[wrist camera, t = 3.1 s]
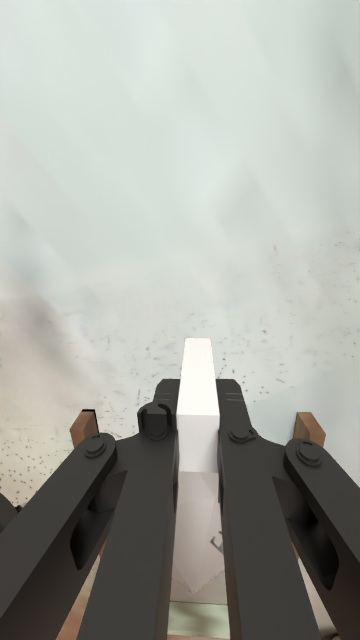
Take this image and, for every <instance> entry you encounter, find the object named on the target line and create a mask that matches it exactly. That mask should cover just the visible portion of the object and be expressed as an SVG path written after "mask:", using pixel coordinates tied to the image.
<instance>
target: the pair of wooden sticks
mask: <svg viewBox="0 0 360 640" xmlns="http://www.w3.org/2000/svg"><path fill="white" fill-rule="evenodd" d="M70 433H71V437H72V441H73V446H74V449H75V448H76V446H77V445H78V444H79V443H80V442H81V441H82V440H84V439H85V438H86V437H88V436H90V435H92V434H96V433H99V429H98V424H97V418H96V413H95V409H83V410H82V411H81V413H80V414H79V416H78V417H77V419H76V420H75V422H74V423H73V425H72V426H71V428H70ZM325 436H326V434H325V432H324V431H323V429H322V428H321V426H320V425H319V424H318V422H317V421H316V419H315V418H314V416H313V415H312V413H311V412H297V418H296V424H295V430H294V436H293V439H295V438H299V439H306V440H310V441H313V442H314V443H316V444H318V445H320V446H321V447H322V448H323V445H324V440H325ZM106 540H107V539H106ZM105 544H106V541H105V542H104V544H103V546H102V548H101V550H100V552H99V556H100V560H101V557H102V554H103V550H104V547H105ZM292 545H293V543H292ZM293 548H294V551H295V554H296V558H297V561H298V558H299V555H298V553H297V551H296V549H295V547H294V545H293ZM167 634H172V635H185V636H198V637H211V638H224V639H230V629H229V617H228V605H215V604H201V603H186V602H171V601H170V605H169V618H168V632H167Z"/></svg>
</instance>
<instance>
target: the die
mask: <svg viewBox="0 0 360 640" xmlns="http://www.w3.org/2000/svg"><path fill="white" fill-rule="evenodd" d="M218 483H219V475H218V473H207V472H186V471H179V472H178V485H179V487H178V500H177V513H176V526H175V540H174V553H173V566H172V578H173V579H175V580H176V581H177V582H179V583H180V584H181V585H182V586H184V587H185V588H186V589H188V590H189V591H190V592H191V593H193V594H195V593H196V592H197V591H198V590H200V589H201V588H202V587H203V586H205V585H206V584H207V583H208V582H209V581H211V580H212V579H213V578H214V577H216V576H217V575H218V574H219V573H220V572H222V571H223V570H224V569H225V566H224V553H223V541H222V528H221V515H220V503H218Z"/></svg>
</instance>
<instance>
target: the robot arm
mask: <svg viewBox="0 0 360 640" xmlns="http://www.w3.org/2000/svg"><path fill="white" fill-rule="evenodd" d="M137 417H138V426H139V433H138V434H136V435H134V436H132V437H129V438H125V439H121V440H117V441H115V439H114V437H113V436H112V435H110V434H108V433H96V434H92V435H90V436H88V437H86V438H85V439H84V440H82V441H81V442H80V443H79V444H78V445H77V446H76V448H75V449H74V450H73V451H72V452H71V453H70V454H69V456H68V457H67V458H66V459H65V460H64V461H63V463H62V464H61V465H60V466H59V467H58V468H57V469H56V471H55V472H54V473H53V474H52V475H51V476H50V477H49V479H48V480H47V481H46V482H45V483H44V484H43V485H42V487H41V488H40V489H39V490H38V491H37V492H36V494H35V495H34V496H33V497H32V498H31V499H30V500H29V502H28V503H27V504H26V505H25V506H24V507H23V508H22V510H21V511H20V512H19V513H18V512H17V510H16V509H15V507H14V506H13V505H12V504H11V502H10V501H9V500H8V499H7V498H6V497H5V496H4V495H2V494H1V493H0V640H56V638H57V636H58V634H59V632H60V630H61V628H62V626H63V624H64V622H65V620H66V618H67V616H68V614H69V612H70V610H71V608H72V606H73V604H74V602H75V600H76V598H77V596H78V594H79V592H80V590H81V588H82V586H83V584H84V582H85V580H86V578H87V576H88V574H89V572H90V570H91V568H92V566H93V564H94V562H95V560H96V558H97V556H98V554H99V552H100V550H101V548H102V546H103V544H104V542H105V541H106V544H105V547H104V550H103V554H102V557H101V560H100V563H99V567H98V570H97V573H96V577H95V580H94V583H93V587H92V590H91V593H90V597H89V600H88V603H87V607H86V610H85V613H84V616H83V620H82V623H81V626H80V630H79V633H78V636H77V640H167V632H168V618H169V605H170V592H171V579H172V566H173V553H174V540H175V526H176V513H177V500H178V487H179V485H178V472H179V471H186V472H207V473H218V475H219V483H218V503H220V515H221V528H222V541H223V553H224V566H225V579H226V591H227V604H228V617H229V629H230V640H322V639H321V636H320V632H319V629H318V626H317V623H316V619H315V616H314V613H313V610H312V606H311V603H310V600H309V597H308V593H307V590H306V587H305V584H304V580H303V577H302V574H301V571H300V567H299V564H298V561H297V558H296V554H295V551H294V548H293V545H294V547H295V549H296V551H297V553H298V555H299V557H300V559H301V561H302V563H303V565H304V567H305V569H306V571H307V573H308V575H309V577H310V579H311V581H312V583H313V585H314V587H315V589H316V591H317V593H318V594H319V596H320V598H321V600H322V602H323V604H324V606H325V608H326V610H327V612H328V614H329V616H330V618H331V620H332V622H333V624H334V626H335V628H336V630H337V632H338V634H339V636H340V638H341V640H360V488H359V487H358V486H357V484H356V483H355V482H354V481H353V480H352V479H351V478H350V477H349V475H348V474H347V473H346V472H345V471H344V470H343V469H342V468H341V467H340V465H339V464H338V463H337V462H336V461H335V460H334V459H333V458H332V456H331V455H330V454H329V453H328V452H327V451H326V450H325V449H324V448H322V447H321V446H320V445H318V444H316V443H314V442H313V441H310V440H306V439H299V438H295V439H292V440H290V441H289V442H288V443H287V444H286V446H283V445H280V444H276V443H273V442H270V441H268V440H266V439H264V438H262V437H261V436H259V435H258V433H257V431H256V430H255V429H254V428H253V427H252V425H251V422H250V419H249V415H248V412H247V408H246V405H245V401H244V398H243V395H242V391H241V387H240V385H239V384H238V383H237V382H236V381H235V380H234V379H215V373H214V365H213V357H212V349H211V341H210V338H186V341H185V349H184V357H183V365H182V373H181V379H162V381H161V382H160V383H159V384H158V385H157V388H156V391H155V395H154V399H153V402H150V403H148V404H145V405H144V406H143V407H141V408H140V409H139V411H138V413H137ZM106 539H107V540H106ZM292 543H293V545H292Z"/></svg>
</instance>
